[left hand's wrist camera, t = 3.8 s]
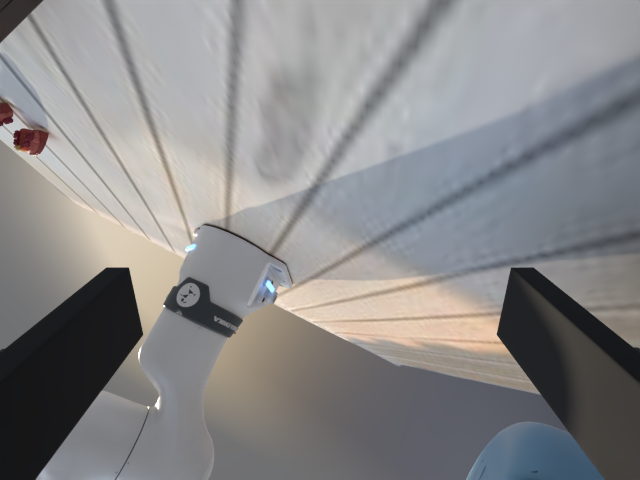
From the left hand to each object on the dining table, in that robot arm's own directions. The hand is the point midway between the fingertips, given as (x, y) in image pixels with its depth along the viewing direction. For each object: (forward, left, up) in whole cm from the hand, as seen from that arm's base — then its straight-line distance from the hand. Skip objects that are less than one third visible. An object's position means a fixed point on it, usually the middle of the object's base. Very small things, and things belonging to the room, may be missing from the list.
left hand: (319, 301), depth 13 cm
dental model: (+30, +48, -11) cm, 58 cm away
